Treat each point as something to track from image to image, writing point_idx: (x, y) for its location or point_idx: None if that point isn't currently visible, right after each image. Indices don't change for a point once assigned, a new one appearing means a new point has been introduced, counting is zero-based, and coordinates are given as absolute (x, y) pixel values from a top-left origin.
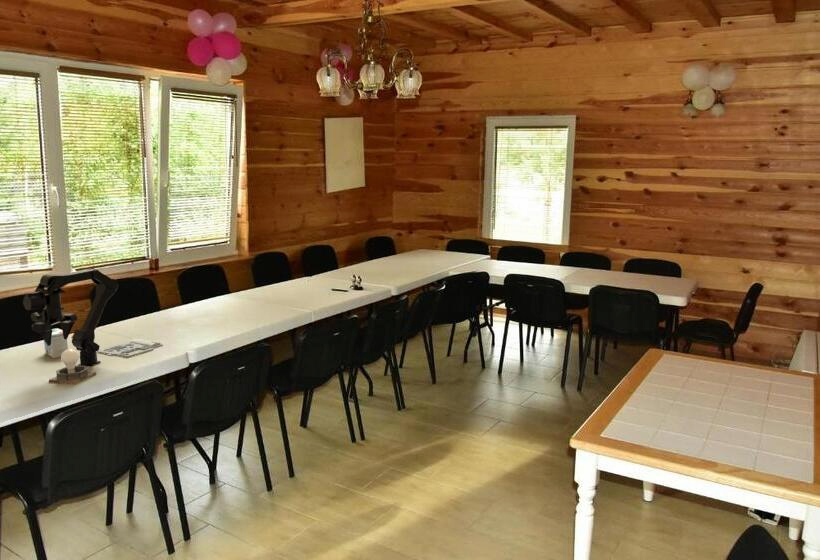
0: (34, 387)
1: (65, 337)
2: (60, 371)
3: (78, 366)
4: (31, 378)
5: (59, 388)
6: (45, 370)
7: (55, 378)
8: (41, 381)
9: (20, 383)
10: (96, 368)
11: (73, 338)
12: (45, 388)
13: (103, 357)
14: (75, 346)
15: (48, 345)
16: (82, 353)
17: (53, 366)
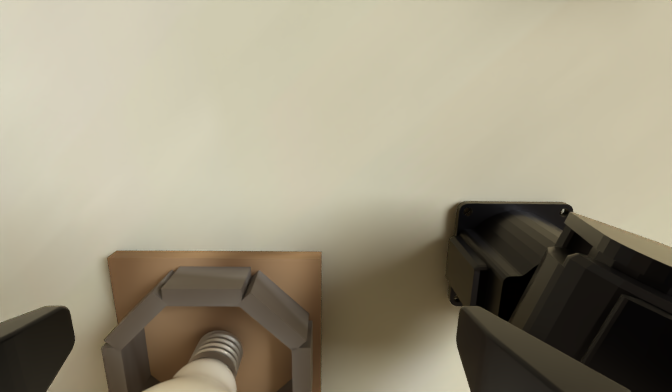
0: (5, 232)
1: (468, 359)
2: (183, 300)
3: (292, 368)
4: (136, 62)
5: (57, 382)
6: (326, 21)
7: (143, 282)
8: (112, 189)
9: (20, 67)
10: (426, 348)
11: (614, 314)
12: (23, 310)
13: (668, 242)
14: (533, 276)
15: (52, 325)
16: (495, 300)
17: (430, 8)
